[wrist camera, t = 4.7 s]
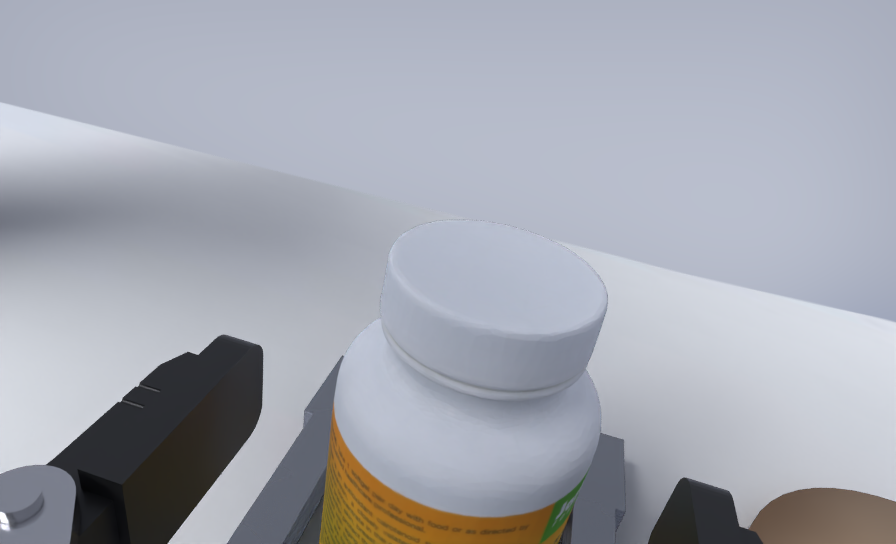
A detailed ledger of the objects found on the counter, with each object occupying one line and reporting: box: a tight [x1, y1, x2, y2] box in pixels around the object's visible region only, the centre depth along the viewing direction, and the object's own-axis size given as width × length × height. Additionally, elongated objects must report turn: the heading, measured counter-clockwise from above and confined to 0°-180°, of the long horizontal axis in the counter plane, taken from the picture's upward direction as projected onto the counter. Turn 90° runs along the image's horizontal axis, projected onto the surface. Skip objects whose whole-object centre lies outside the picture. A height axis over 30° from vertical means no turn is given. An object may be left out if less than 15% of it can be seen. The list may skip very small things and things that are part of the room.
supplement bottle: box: [319, 220, 608, 544], centre depth 13 cm, size 5×5×10 cm
